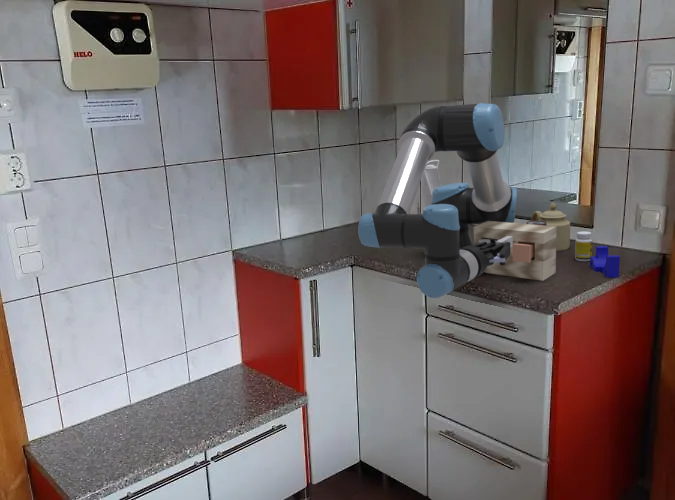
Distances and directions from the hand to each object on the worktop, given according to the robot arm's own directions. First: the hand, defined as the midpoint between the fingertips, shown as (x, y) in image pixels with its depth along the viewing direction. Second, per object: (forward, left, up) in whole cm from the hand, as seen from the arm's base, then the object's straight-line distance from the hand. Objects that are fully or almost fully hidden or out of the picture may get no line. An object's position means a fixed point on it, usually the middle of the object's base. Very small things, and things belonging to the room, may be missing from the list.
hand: (509, 241), depth 162 cm
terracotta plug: (-2, +17, -8) cm, 19 cm away
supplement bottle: (+5, +40, -14) cm, 43 cm away
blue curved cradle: (+14, +30, -14) cm, 36 cm away
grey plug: (-13, +18, -8) cm, 24 cm away
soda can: (-7, +33, -14) cm, 36 cm away
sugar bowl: (-10, +51, -14) cm, 54 cm away
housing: (-7, +18, -14) cm, 24 cm away
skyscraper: (-55, +50, -14) cm, 76 cm away
